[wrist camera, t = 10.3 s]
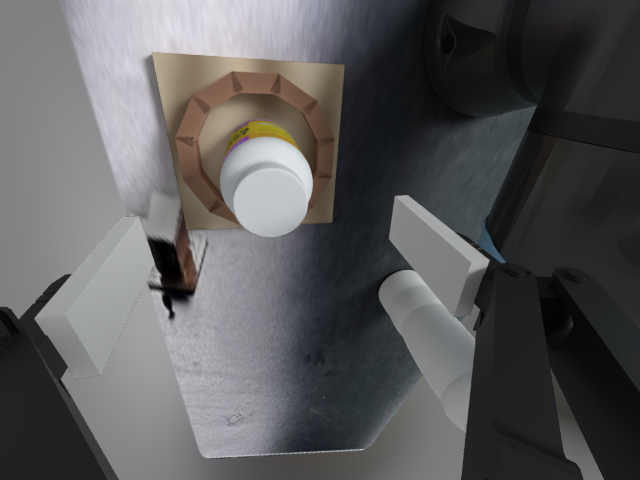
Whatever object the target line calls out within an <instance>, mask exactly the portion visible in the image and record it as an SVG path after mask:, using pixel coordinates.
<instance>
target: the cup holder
mask: <svg viewBox="0 0 640 480" xmlns="http://www.w3.org/2000/svg"><path fill="white" fill-rule="evenodd" d="M152 56H153V61H154V66H155V71H156V76H157V82H158V87H159V92H160V97H161V102H162V107H163V112H164V117H165V122H166V127H167V132H168V138H169V143H170V148H171V153H172V158H173V163H174V168H175V173H176V178H177V183H178V188H179V193H180V199H181V204H182V209H183V214H184V219H185V224H186V229H187V230H203V229H222V228H240V227H243V226H242V225H241V224H240V223H239V221H238V220H237V218H236V216H235V214H233V212H232V211H231V210H230V209H229V208H228V206H227V205H226V203H225V201H224V199H223V196H222V193H221V188H220V175H221V170H222V165H223V161H224V156H225V152H226V148H227V144H228V141H229V138H230V136H231V134H232V133H233V132H234V130H235V129H236V128H237V127H238V126H240V125H241V124H242V123H244V122H246V121H249V120H253V119H267V120H271V121H274V122H276V123H278V124H279V125H281V126H282V127H283V128H285V129H286V130H287V132H288V133H289V134H290V136H291V137H292V138H293V140H294V142H295V143H296V145H297V146H298V148H299V150H300V151H301V153H302V154H303V156H304V157H305V159H306V161H307V162H308V164H309V167H310V169H311V173H312V178H313V189H312V194H311V197H310V200H309V202H308V208H307V212H306V215H305V217H304V219H303V221H302V222H301V223H300V224H315V223H332V217H333V204H334V192H335V179H336V167H337V154H338V142H339V129H340V117H341V104H342V92H343V79H344V67H345V65H338V64H323V63H308V62H292V61H277V60H262V59H247V58H232V57H217V56H202V55H187V54H172V53H157V52H152Z"/></svg>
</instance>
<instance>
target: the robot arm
mask: <svg viewBox="0 0 640 480" xmlns="http://www.w3.org/2000/svg"><path fill="white" fill-rule="evenodd" d="M424 61H425V68H426V72H427V76H428V79H429V82H430V84H431V87H432V89H433V90H434V92H435V94H436V95H437V97H438V98H439V99H440V100H441V101H442V102H443V103H444V104H445V105H446V106H447V107H449V108H450V109H452V110H454V111H456V112H459V113H463V114H468V115H473V116H478V117H491V116H498V115H502V114H505V113H508V112H511V111H514V110H519V109H523V108H528V107H532V106H536V105H537V107H536V110H535V112H534V114H533V117H532V119H531V121H530V124H529V126H528V128H527V130H526V132H525V134H524V137H523V139H522V141H521V143H520V146H519V148H518V150H517V152H516V155H515V157H514V159H513V161H512V164H511V166H510V168H509V171H508V173H507V175H506V177H505V180H504V182H503V184H502V186H501V189H500V191H499V193H498V195H497V198H496V200H495V202H494V205H493V207H492V209H491V211H490V214H489V215H488V216H487V217H486V219H485V220H484V221H483V223H482V233H481V236H480V238H479V241H478V244H475V242H473V241H472V240H471V239H470V238H468V237H466V236H464V235H462V234H460V233H455V232H453V231H452V230H451V229H450V228H448V227H447V226H446V225H445V224H443V223H442V222H441V221H440V220H438V219H437V218H436V217H435V216H433V215H432V214H431V213H430V212H428V211H427V210H426V209H424V208H423V207H422V206H421V205H419V204H418V203H417V202H416V201H414V200H413V199H412V198H411V197H409V196H408V195H403V196H395V200H394V207H393V214H392V221H391V228H390V235H389V240H390V241H391V242H392V243H393V244H394V246H395V247H396V248H397V249H398V251H399V252H400V253H401V254H402V255H403V257H404V258H405V259H406V260H407V261H408V263H409V264H410V265H411V266H412V268H413V269H414V270H415V271H416V272H417V274H418V275H419V276H420V277H421V278H422V280H423V281H424V282H425V283H426V285H427V286H428V287H429V288H430V289H431V291H432V292H433V293H434V294H435V295H436V297H437V298H438V299H439V300H440V301H441V303H442V304H443V305H444V306H445V308H446V309H447V310H448V311H449V312H450V314H451V315H452V316H453V317H460V316H466V315H470V314H471V311H472V308H473V305H474V304H475V305H476V306H477V307H478V308H479V309H480V312H479V315H478V318H477V320H476V323H475V326H474V329H473V330H474V331H476V340H475V350H474V360H473V369H472V379H471V389H470V399H469V408H468V418H467V428H466V438H465V448H464V458H463V469H462V477H461V480H583V476H582V473H581V470H580V468H579V467H578V466H577V464H576V463H574V462H572V461H570V460H568V459H566V457H565V455H564V451H563V446H562V439H561V433H560V427H559V420H558V415H557V408H556V402H555V395H554V389H553V383H552V376H551V370H550V367H551V369H552V371H553V373H554V375H555V377H556V380H557V382H558V384H559V386H560V388H561V390H562V392H563V394H564V396H565V398H566V401H567V403H568V405H569V407H570V409H571V411H572V413H573V415H574V417H575V419H576V421H577V424H578V426H579V428H580V430H581V432H582V434H583V436H584V438H585V440H586V442H587V444H588V447H589V449H590V451H591V453H592V455H593V457H594V459H595V461H596V463H597V465H598V468H599V470H600V472H601V474H602V476H603V478H604V480H640V0H433V1H432V4H431V7H430V10H429V14H428V18H427V22H426V28H425V35H424ZM154 264H155V263H154V260H153V257H152V254H151V251H150V248H149V245H148V242H147V239H146V236H145V233H144V230H143V227H142V224H141V221H140V218H139V216H132V217H121V218H120V219H119V221H118V222H117V223H116V224H115V225H114V226H113V227H112V228H111V230H110V231H109V232H108V233H107V234H106V235H105V237H104V238H103V239H102V240H101V241H100V242H99V244H98V245H97V246H96V247H95V248H94V249H93V251H92V252H91V253H90V254H89V255H88V256H87V258H86V259H85V260H84V261H83V262H82V264H81V265H80V266H79V267H78V268H77V269H76V270H75V272H74V273H73V274H68V275H64V276H63V277H61V278H60V279H58V280H57V281H55V282H54V283H52V284H51V285H50V286H49V287H48V288H47V289H46V290H45V291H44V292H43V295H41V296H40V297H39V298H38V299H37V300H36V301H35V302H36V303H34V304H33V305H32V306H31V307H30V308H29V309H28V310H27V311H26V312H25V313H24V314H23V315H22V316H21V318H20V319H19V320H18V318H17V317H16V316H15V314H14V313H13V312H12V310H11V309H9V308H8V307H0V480H119V479H118V477H117V476H116V474H115V472H114V471H113V469H112V467H111V465H110V464H109V462H108V460H107V458H106V457H105V455H104V453H103V451H102V450H101V448H100V446H99V445H98V443H97V441H96V439H95V438H94V436H93V434H92V432H91V430H90V429H89V427H88V425H87V423H86V422H85V420H84V418H83V416H82V415H81V413H80V411H79V409H78V408H77V406H76V404H75V402H74V401H73V399H72V397H71V395H70V394H69V392H68V390H67V389H66V387H65V385H64V384H63V382H62V381H61V377H62V376H63V374H64V373H65V371H66V369H67V368H68V370H69V371H70V373H71V374H72V376H73V377H74V379H81V378H87V377H93V376H100V375H101V374H102V372H103V370H104V368H105V366H106V364H107V362H108V359H109V357H110V355H111V353H112V351H113V349H114V347H115V345H116V343H117V341H118V339H119V337H120V335H121V332H122V330H123V328H124V326H125V324H126V322H127V320H128V318H129V316H130V314H131V312H132V310H133V308H134V306H135V303H136V302H137V299H138V297H139V295H140V293H141V291H142V289H143V287H144V284H145V283H146V281H147V279H148V277H149V275H150V272H151V270H152V268H153V266H154Z"/></svg>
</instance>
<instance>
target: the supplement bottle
mask: <svg viewBox="0 0 640 480" xmlns="http://www.w3.org/2000/svg"><path fill="white" fill-rule="evenodd" d="M220 188H221V193H222V196H223V199H224V201H225V203H226V205H227V206H228V208H229V209H230V210H231V211H232V212H233V214H235V216H236V218H237V220H238V221H239V223H240V224H241V225H242V226H243V227H244V228H245V229H246V230H248V231H249V232H251V233H253V234H255V235H258V236H262V237H278V236H282V235H285V234H287V233H289V232H291V231H293V230H294V229H295V228H297V227H298V226H299V225H300V223H301V222H302V221H303V219H304V217H305V215H306V212H307V208H308V202H309V200H310V197H311V194H312V189H313V178H312V173H311V169H310V167H309V164H308V162H307V161H306V159H305V157H304V156H303V154H302V153H301V151H300V150H299V148H298V146H297V145H296V143H295V142H294V140H293V138H292V137H291V136H290V134H289V133H288V132H287V130H286V129H285V128H283V127H282V126H281V125H279V124H278V123H276V122H274V121H271V120H267V119H253V120H249V121H246V122H244V123H242V124H241V125H240V126H238V127H237V128H236V129H235V130H234V132H233V133H232V134H231V136H230V138H229V141H228V144H227V148H226V152H225V156H224V161H223V165H222V170H221V175H220Z"/></svg>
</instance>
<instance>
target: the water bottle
mask: <svg viewBox="0 0 640 480" xmlns="http://www.w3.org/2000/svg"><path fill="white" fill-rule="evenodd" d="M379 299H380V302H381V304H382V305H383V307H384V309H385V310H386V311H387V313H388V314H389V315H390V317H391V320H392V322H393V324H394V326H395V327H396V329H397V330H398V332H399V333H400V334H401V335H402V336H403V339H404V341H405V343H406V345H407V347H408V349H409V351H410V353H411V355H412V356H413V358H414V360H415V362H416V363H417V365H418V367H419V369H420V370H421V372H422V374H423V375H424V377H425V378H426V380H427V382H428V383H429V385H430V386H431V388H432V389H433V391H434V392H435V394H436V395H437V397H438V398H439V399H440V401H441V402H442V407H443V409H444V412H445V413H446V415H447V416H448V418H449V419H450V420H451V421H452V422H453V423H454V424H455V425H456V426H457V427H458V428H460V429H461V430H462V431H464V432H465V433H466V428H467V418H468V408H469V399H470V389H471V379H472V369H473V360H474V350H475V339H474V338H473V337H472V336H471V334H470V333H469V332H468V331H467V330H466V328H465V327H464V326H463V325H462V324H461V323H460V322H459V321H458V320H457V318H456V317H453V316H452V315H451V314H450V312H449V311H448V310H447V309H446V308H445V306H444V305H443V304H442V303H441V301H440V300H439V299H438V298H437V297H436V295H435V294H434V293H433V292H432V291H431V289H430V288H429V287H428V286H427V285H426V283H425V282H424V281H423V280H422V278H421V277H420V276H419V275H418V274H417V272H415V271H412V270H402V271H398V272H396V273H394V274H392V275H390V276H389V277H388V278H387V279H386V280H385V281H384V282H383V283H382V285H381V287H380V289H379Z"/></svg>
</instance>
